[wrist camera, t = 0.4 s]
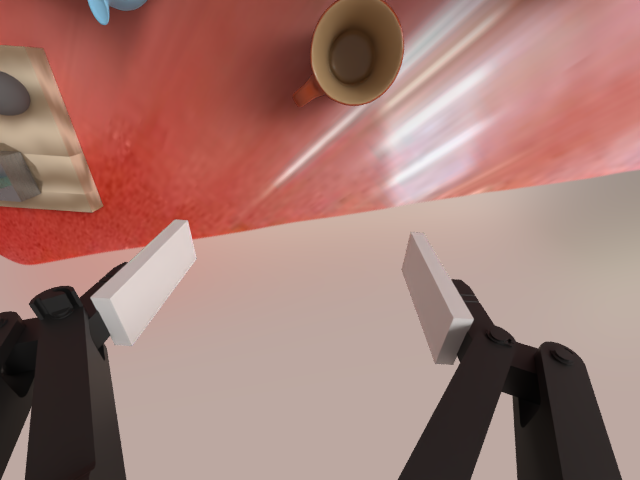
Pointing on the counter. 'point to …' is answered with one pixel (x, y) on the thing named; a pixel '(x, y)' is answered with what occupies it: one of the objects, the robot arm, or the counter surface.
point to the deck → (46, 137)
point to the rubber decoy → (12, 96)
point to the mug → (353, 53)
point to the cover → (16, 178)
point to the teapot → (100, 6)
